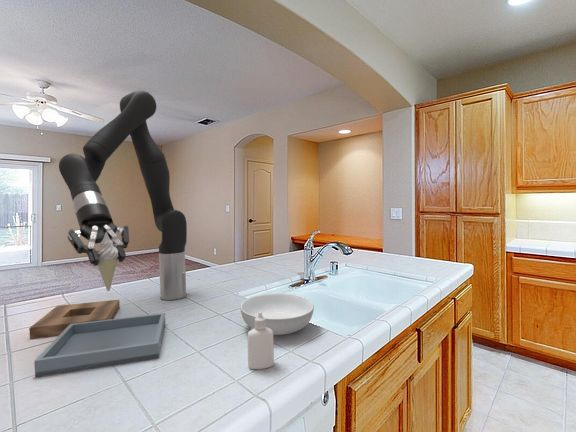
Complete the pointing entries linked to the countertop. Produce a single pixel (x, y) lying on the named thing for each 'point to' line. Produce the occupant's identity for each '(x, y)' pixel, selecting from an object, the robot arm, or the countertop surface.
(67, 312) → the walnut board
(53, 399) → the countertop surface
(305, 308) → the serving bowl
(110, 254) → the ice cream cone
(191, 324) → the countertop surface
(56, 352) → the slate blue tray
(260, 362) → the eye dropper bottle
